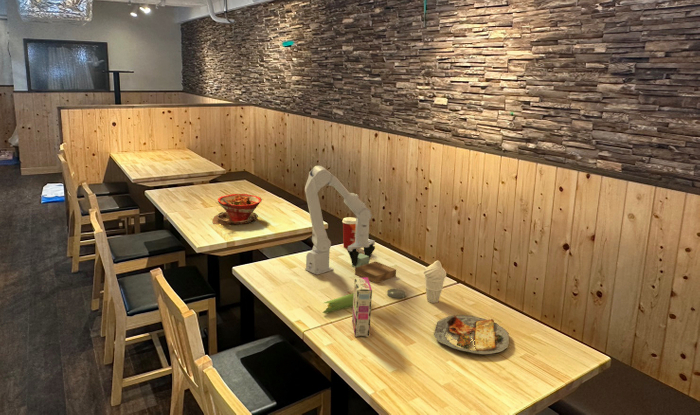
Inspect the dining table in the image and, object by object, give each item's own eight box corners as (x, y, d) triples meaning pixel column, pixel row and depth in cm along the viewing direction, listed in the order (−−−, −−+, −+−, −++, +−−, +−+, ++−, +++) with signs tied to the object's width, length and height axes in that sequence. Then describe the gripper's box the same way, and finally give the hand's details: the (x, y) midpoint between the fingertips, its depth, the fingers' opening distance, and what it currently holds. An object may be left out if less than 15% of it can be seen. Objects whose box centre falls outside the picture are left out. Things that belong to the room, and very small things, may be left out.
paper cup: (355, 250, 252) (356, 222, 249) (339, 248, 254) (340, 220, 250) (358, 245, 260) (359, 217, 256) (343, 243, 261) (344, 216, 257)
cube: (360, 269, 228) (360, 258, 227) (352, 266, 232) (352, 255, 231) (368, 267, 232) (369, 256, 231) (360, 263, 235) (361, 253, 234)
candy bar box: (370, 337, 171) (372, 290, 167) (354, 337, 171) (356, 290, 167) (366, 321, 182) (368, 276, 178) (351, 321, 182) (353, 276, 177)
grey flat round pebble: (397, 301, 200) (397, 297, 199) (383, 295, 204) (383, 291, 204) (409, 296, 204) (409, 292, 204) (395, 290, 209) (395, 287, 209)
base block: (375, 283, 215) (376, 276, 214) (355, 274, 223) (355, 267, 222) (395, 276, 223) (396, 269, 222) (375, 267, 231) (375, 261, 230)
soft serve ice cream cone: (430, 306, 195) (433, 265, 191) (417, 298, 202) (420, 258, 198) (448, 303, 199) (452, 262, 195) (435, 294, 206) (438, 255, 202)
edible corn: (371, 294, 194) (364, 286, 197) (324, 307, 183) (317, 299, 186) (368, 305, 197) (361, 297, 200) (321, 318, 186) (315, 310, 189)
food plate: (440, 315, 189) (441, 306, 188) (508, 327, 182) (509, 318, 181) (429, 351, 166) (430, 341, 164) (507, 366, 159) (508, 355, 158)
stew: (235, 230, 275) (234, 200, 271) (202, 222, 287) (201, 193, 283) (271, 219, 298) (271, 191, 293) (239, 211, 310) (239, 184, 306)
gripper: (356, 239, 220) (355, 269, 224) (380, 232, 230) (378, 262, 234) (344, 234, 225) (343, 265, 229) (368, 228, 235) (367, 257, 238)
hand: (360, 263), depth 231 cm, fingers open, 7 cm apart
